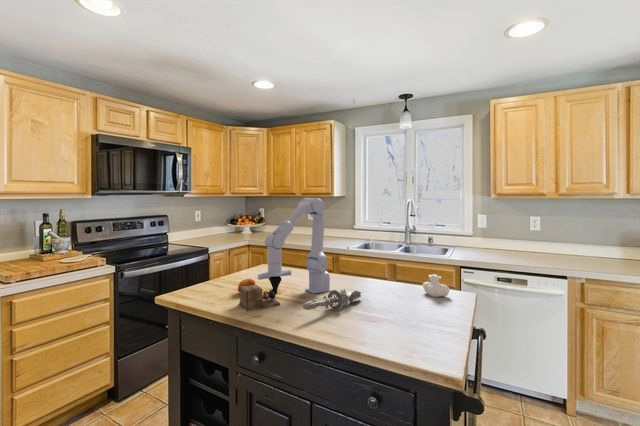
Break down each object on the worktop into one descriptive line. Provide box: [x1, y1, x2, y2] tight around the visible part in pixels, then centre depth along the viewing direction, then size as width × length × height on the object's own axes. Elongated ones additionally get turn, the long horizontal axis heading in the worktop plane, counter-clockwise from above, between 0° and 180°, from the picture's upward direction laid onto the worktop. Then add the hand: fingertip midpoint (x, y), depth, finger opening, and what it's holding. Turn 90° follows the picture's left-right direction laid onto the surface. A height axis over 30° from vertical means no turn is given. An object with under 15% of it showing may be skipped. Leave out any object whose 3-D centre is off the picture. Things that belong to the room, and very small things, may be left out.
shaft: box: [263, 288, 276, 300], centre depth 135 cm, size 12×4×4 cm, turn 120°
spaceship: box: [302, 289, 363, 311], centre depth 130 cm, size 8×35×8 cm
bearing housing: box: [239, 284, 281, 312], centre depth 135 cm, size 14×10×8 cm
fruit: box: [237, 277, 256, 293], centre depth 150 cm, size 8×8×8 cm
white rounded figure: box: [421, 273, 450, 298], centre depth 147 cm, size 12×8×11 cm
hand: (275, 294), depth 139 cm, fingers closed
